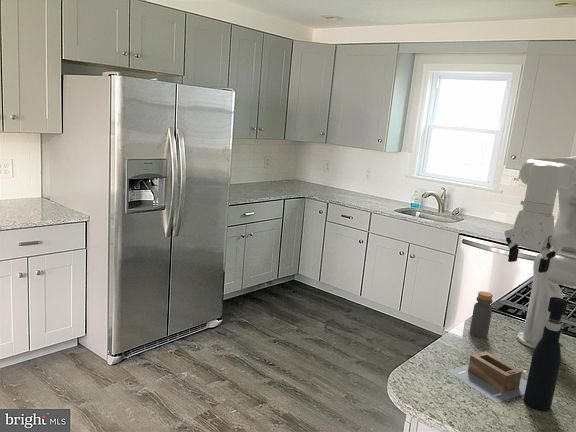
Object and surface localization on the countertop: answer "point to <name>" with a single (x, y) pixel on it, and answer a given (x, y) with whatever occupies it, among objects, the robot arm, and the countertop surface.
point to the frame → (494, 371)
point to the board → (487, 385)
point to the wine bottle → (546, 360)
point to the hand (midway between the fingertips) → (526, 266)
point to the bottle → (481, 315)
